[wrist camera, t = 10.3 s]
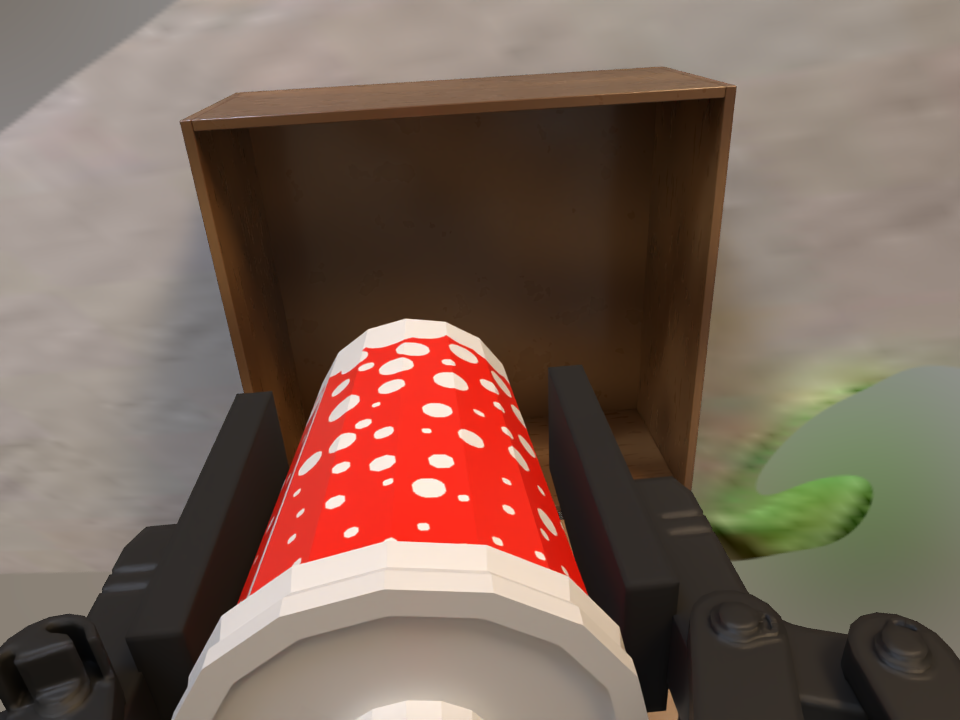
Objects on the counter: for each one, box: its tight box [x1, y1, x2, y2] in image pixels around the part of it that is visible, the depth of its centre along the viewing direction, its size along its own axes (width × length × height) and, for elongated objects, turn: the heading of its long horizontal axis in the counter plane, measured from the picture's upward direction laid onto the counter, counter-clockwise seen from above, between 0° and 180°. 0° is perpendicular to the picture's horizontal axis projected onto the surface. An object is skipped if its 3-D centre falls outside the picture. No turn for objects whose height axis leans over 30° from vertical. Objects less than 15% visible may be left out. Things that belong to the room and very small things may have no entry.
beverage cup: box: [171, 319, 649, 720], centre depth 11 cm, size 6×6×14 cm
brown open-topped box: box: [180, 67, 736, 512], centre depth 33 cm, size 19×20×8 cm
